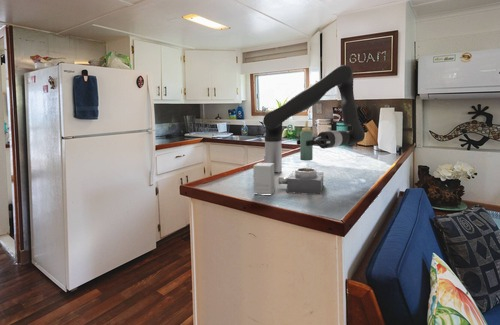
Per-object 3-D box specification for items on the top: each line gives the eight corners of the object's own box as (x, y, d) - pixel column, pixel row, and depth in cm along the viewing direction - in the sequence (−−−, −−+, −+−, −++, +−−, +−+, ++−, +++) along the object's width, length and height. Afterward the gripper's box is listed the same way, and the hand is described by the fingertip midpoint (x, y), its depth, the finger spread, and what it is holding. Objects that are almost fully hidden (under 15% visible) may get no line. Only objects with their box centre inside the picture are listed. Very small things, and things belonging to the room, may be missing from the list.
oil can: (299, 160, 133) (299, 121, 130) (301, 158, 138) (300, 120, 135) (311, 160, 132) (311, 121, 129) (313, 158, 137) (313, 120, 134)
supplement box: (275, 191, 134) (274, 162, 132) (270, 196, 127) (270, 166, 125) (258, 190, 136) (258, 162, 134) (253, 195, 130) (252, 165, 127)
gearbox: (275, 191, 133) (275, 172, 132) (282, 183, 148) (282, 165, 147) (320, 194, 128) (320, 174, 126) (323, 185, 143) (323, 166, 141)
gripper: (318, 130, 147) (290, 133, 138) (342, 131, 135) (313, 135, 126) (318, 146, 148) (290, 149, 139) (342, 149, 136) (313, 153, 127)
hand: (302, 142), depth 132 cm, fingers closed on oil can, 5 cm apart
